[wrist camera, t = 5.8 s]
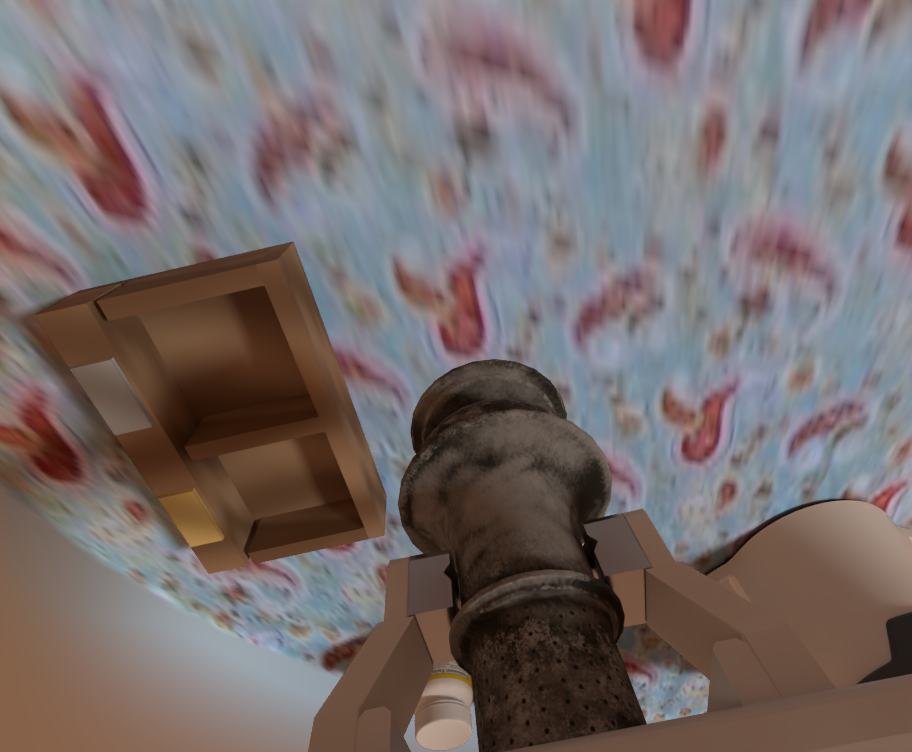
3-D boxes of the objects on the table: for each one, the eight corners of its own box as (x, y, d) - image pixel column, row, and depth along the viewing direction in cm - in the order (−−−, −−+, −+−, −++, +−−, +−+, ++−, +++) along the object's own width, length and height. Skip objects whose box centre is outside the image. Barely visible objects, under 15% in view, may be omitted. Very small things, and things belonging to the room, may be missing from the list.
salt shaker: (364, 430, 16) (261, 1042, 5) (499, 313, 14) (731, 853, 4) (481, 521, 18) (569, 1074, 8) (607, 428, 17) (944, 966, 6)
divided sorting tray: (386, 496, 34) (384, 539, 30) (227, 531, 34) (207, 577, 30) (293, 241, 25) (275, 261, 21) (80, 290, 25) (28, 317, 22)
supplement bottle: (443, 648, 42) (451, 759, 35) (397, 632, 41) (396, 745, 33) (475, 617, 41) (490, 727, 33) (429, 599, 39) (434, 711, 32)
